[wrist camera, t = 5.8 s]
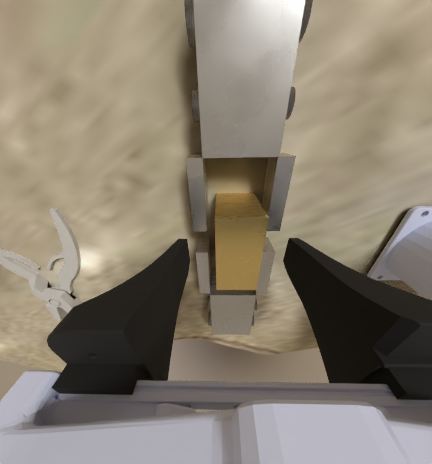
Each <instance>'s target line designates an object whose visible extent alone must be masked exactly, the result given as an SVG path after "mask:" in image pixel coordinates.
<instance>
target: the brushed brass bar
mask: <svg viewBox="0 0 432 464" xmlns="http://www.w3.org/2000/svg"><path fill="white" fill-rule="evenodd" d="M268 219H269V217H268V215H267V214H266V212H265V210H264V209H263V207H262V205H261V204H260V202H259V201H258V199H257V197H256V196H255V194H254V193H226V194H216V205H215V249H216V290H257V284H258V278H259V272H260V266H261V261H262V255H263V249H264V243H265V237H266V231H267V225H268Z"/></svg>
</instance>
